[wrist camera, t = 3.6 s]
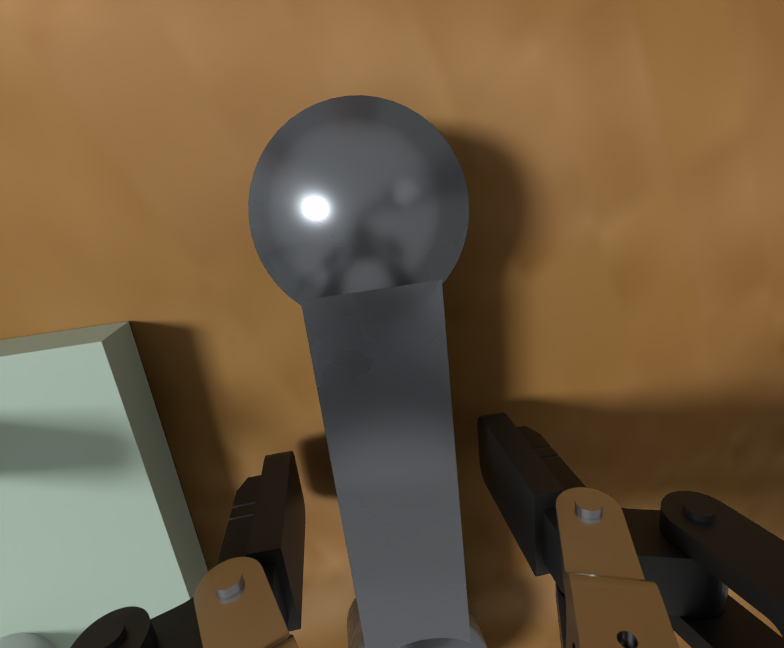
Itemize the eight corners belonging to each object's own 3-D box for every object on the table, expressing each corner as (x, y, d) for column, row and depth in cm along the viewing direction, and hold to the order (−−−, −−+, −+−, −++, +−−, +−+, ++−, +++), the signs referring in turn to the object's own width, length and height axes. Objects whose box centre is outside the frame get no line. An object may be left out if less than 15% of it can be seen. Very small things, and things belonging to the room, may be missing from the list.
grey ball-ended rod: (246, 124, 11) (224, 108, 8) (430, 105, 11) (462, 84, 9) (356, 672, 16) (362, 758, 14) (472, 644, 17) (498, 722, 14)
